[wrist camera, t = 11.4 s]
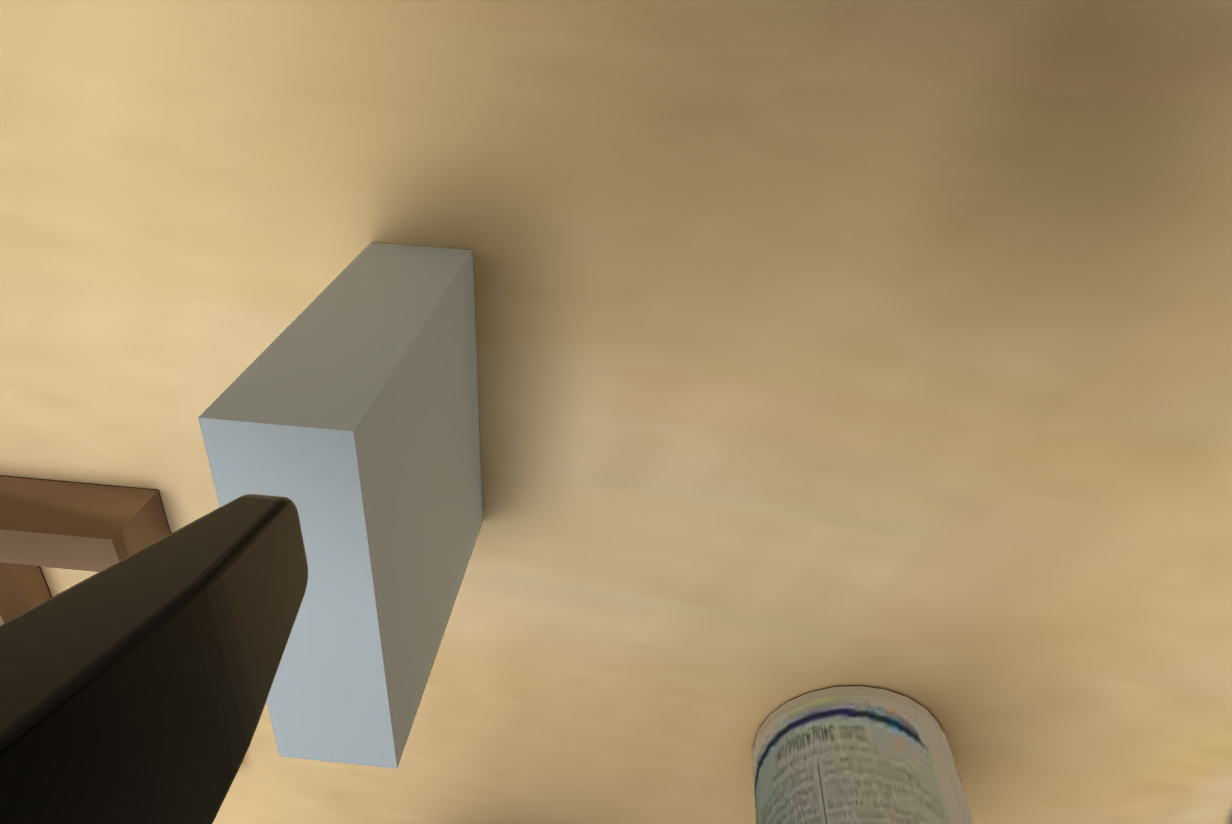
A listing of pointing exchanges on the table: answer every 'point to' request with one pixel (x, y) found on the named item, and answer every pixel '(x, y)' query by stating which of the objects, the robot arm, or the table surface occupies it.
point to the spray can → (855, 762)
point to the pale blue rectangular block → (364, 489)
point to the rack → (68, 533)
